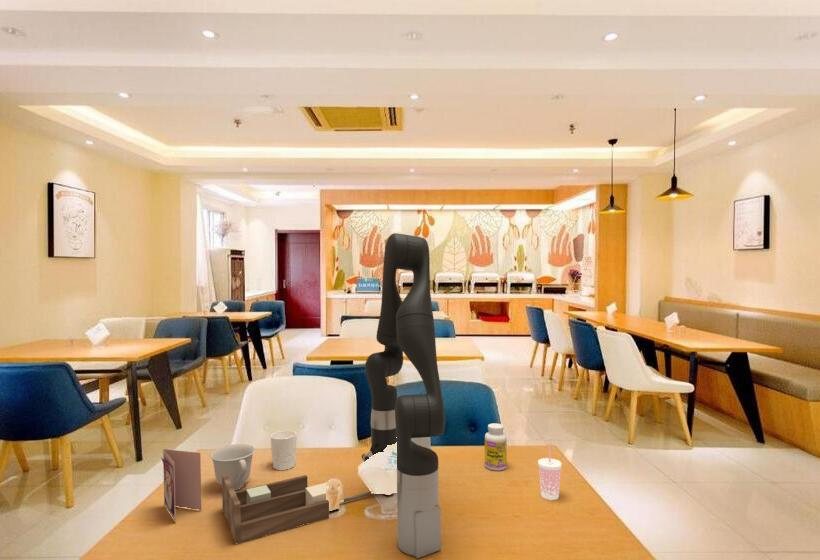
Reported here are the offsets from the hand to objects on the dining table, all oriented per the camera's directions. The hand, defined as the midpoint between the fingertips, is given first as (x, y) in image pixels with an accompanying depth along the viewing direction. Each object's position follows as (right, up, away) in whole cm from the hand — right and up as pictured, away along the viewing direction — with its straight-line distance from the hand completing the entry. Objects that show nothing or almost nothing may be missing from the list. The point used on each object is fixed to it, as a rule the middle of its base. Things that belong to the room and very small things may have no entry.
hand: (385, 486), depth 129 cm
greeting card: (-52, -2, -9) cm, 52 cm away
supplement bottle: (+33, -1, +16) cm, 37 cm away
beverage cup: (+44, -1, -3) cm, 45 cm away
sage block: (-32, -2, -9) cm, 33 cm away
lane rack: (-27, -2, -11) cm, 29 cm away
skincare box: (+10, -1, +22) cm, 24 cm away
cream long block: (-9, -1, -5) cm, 10 cm away
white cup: (-33, -2, +18) cm, 38 cm away
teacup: (-43, -2, +3) cm, 43 cm away
